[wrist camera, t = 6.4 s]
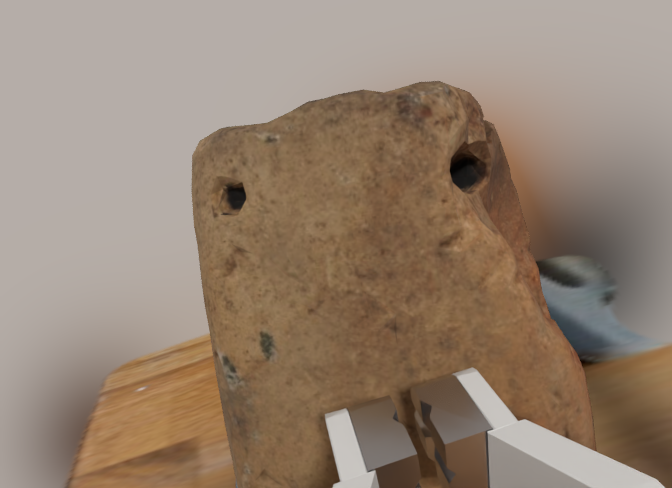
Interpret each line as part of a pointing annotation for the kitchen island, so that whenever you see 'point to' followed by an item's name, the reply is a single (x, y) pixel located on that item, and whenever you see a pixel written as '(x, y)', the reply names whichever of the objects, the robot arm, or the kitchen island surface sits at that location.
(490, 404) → the robot arm
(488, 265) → the block
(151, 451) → the kitchen island surface
